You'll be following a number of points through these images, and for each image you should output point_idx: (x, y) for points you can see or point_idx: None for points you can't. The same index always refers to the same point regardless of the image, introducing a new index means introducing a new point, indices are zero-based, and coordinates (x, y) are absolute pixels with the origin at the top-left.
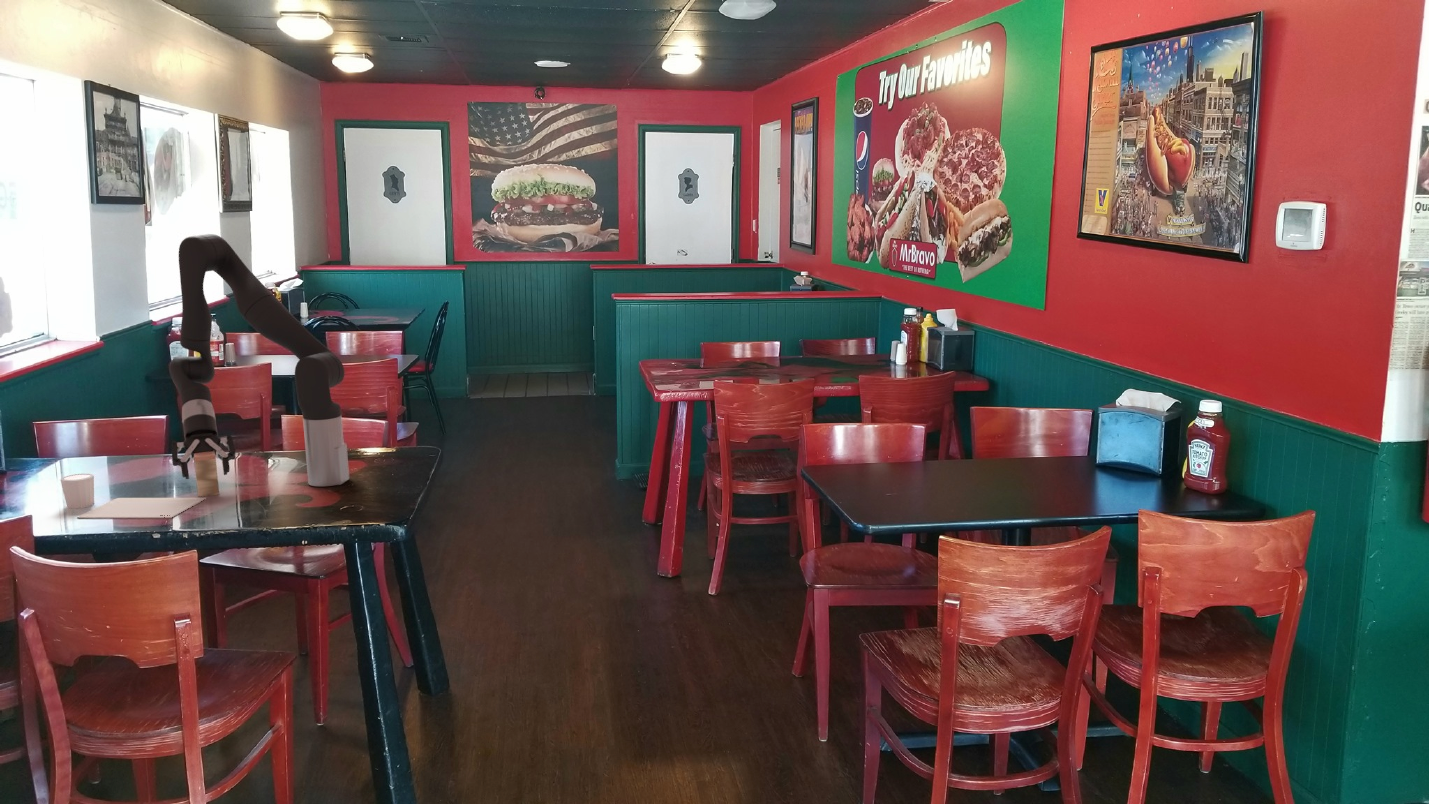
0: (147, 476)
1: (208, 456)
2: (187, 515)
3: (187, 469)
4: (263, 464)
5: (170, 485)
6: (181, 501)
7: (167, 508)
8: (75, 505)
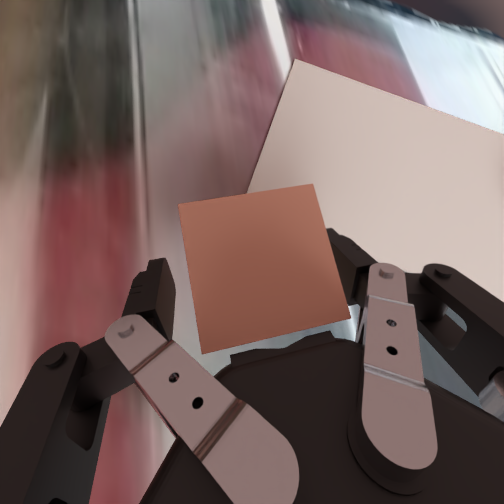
0: None
1: (225, 198)
2: (262, 72)
3: (333, 242)
4: None
5: None
6: None
7: (325, 136)
8: None
